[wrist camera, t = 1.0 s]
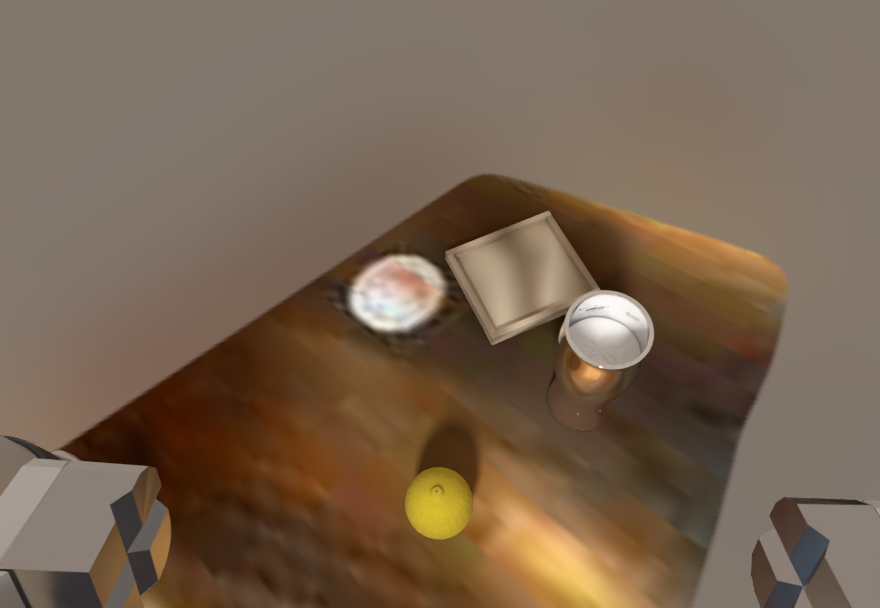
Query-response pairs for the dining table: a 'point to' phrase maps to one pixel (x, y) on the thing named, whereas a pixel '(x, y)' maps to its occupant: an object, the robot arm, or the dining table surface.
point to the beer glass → (598, 357)
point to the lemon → (438, 503)
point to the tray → (520, 276)
